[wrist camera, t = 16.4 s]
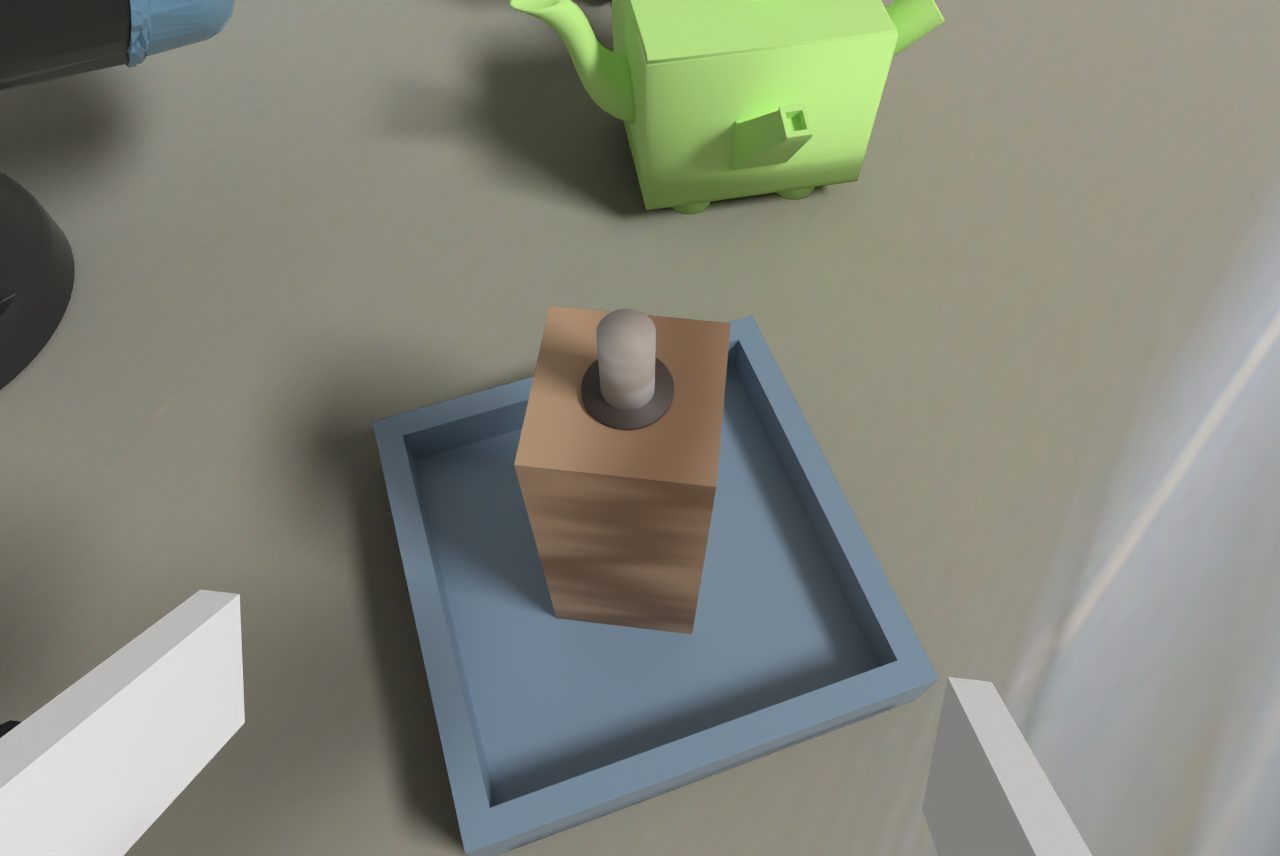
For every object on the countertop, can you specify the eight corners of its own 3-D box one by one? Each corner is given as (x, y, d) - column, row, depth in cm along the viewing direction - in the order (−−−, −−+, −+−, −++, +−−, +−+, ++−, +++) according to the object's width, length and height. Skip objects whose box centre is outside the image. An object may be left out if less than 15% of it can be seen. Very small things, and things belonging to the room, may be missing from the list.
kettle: (532, 181, 44) (501, -29, 35) (674, 35, 50) (682, -178, 41) (790, 303, 40) (836, 103, 31) (912, 128, 46) (982, -85, 37)
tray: (481, 861, 28) (464, 854, 26) (391, 458, 36) (372, 421, 33) (914, 700, 31) (938, 679, 28) (744, 356, 39) (751, 315, 36)
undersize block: (556, 618, 32) (499, 412, 19) (577, 496, 34) (540, 243, 22) (692, 634, 31) (724, 435, 19) (703, 510, 34) (739, 261, 21)
